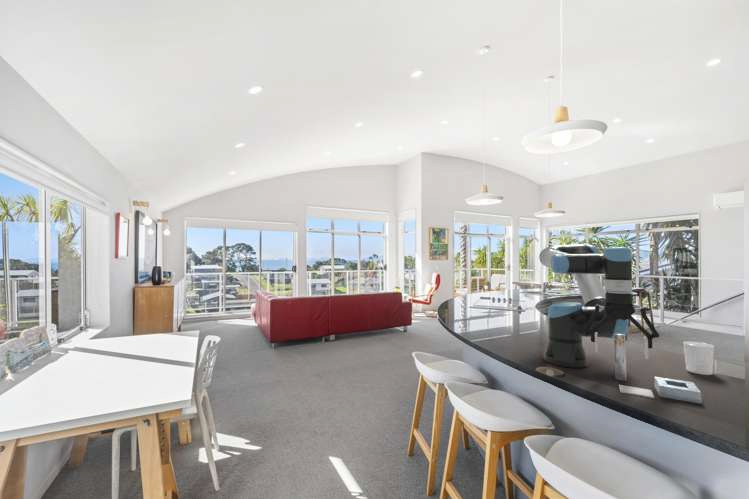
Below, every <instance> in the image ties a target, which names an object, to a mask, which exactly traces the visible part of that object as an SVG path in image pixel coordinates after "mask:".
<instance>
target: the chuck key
mask: <svg viewBox="0 0 749 499" xmlns="http://www.w3.org/2000/svg"><path fill="white" fill-rule="evenodd" d="M613 339H614V367H615V368H614V370H615V371H614V372H615V374H614V376H615V377H614V378H615V379H616V380H618V381H623V382H624V381H627V356H626V355H627V354H626V353H627V352H626V347H627V346H626V336H625V335H624V334H614V338H613Z"/></svg>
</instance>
